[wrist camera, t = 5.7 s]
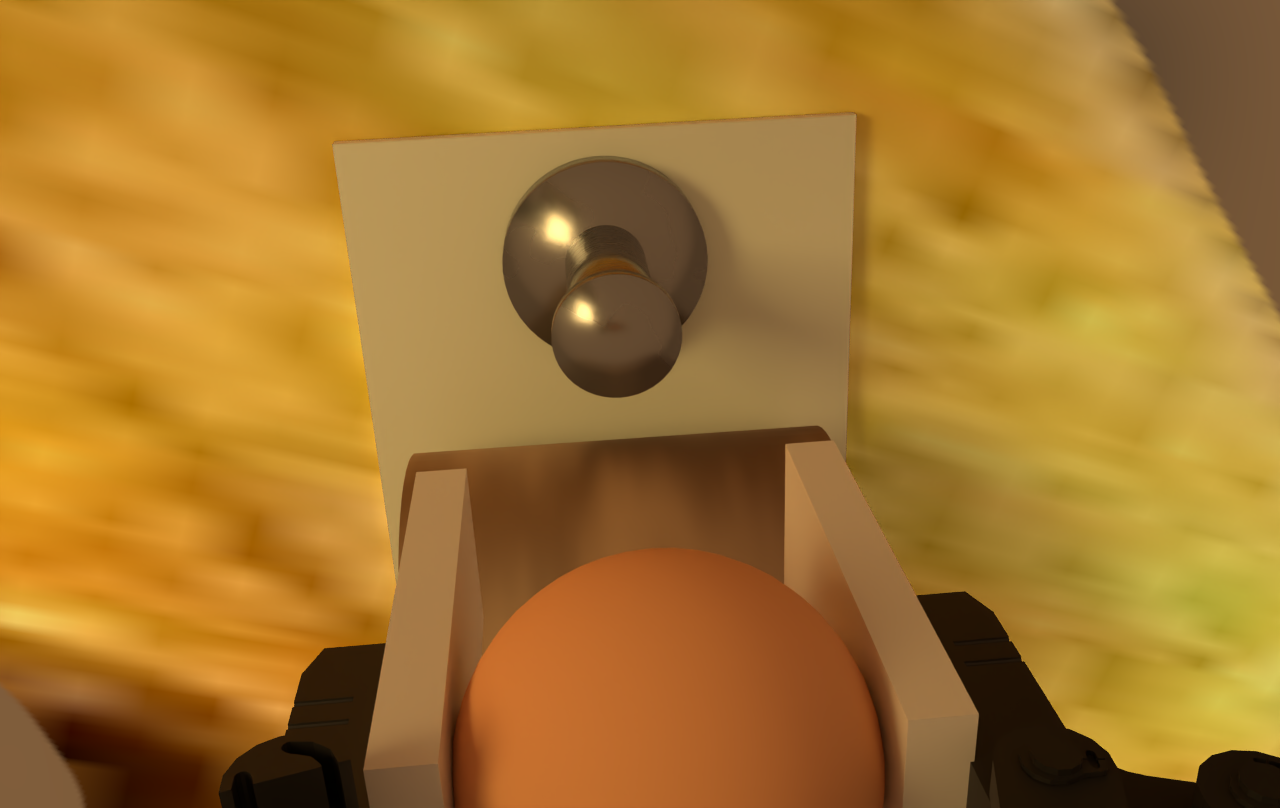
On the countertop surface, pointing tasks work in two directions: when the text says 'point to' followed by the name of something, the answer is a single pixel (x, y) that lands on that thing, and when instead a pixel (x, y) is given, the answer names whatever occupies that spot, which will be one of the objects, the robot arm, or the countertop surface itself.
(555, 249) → the doorknob
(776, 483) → the log
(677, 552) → the ball
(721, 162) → the lane
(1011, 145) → the countertop surface
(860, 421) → the countertop surface
